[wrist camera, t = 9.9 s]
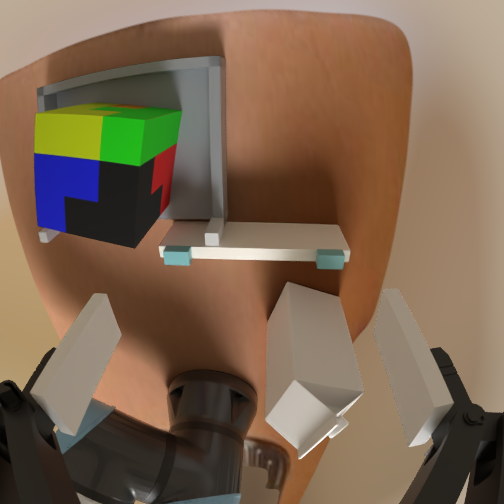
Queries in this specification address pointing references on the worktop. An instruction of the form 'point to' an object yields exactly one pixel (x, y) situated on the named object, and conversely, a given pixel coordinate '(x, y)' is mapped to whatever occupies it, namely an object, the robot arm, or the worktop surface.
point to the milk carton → (309, 367)
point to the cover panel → (257, 243)
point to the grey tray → (190, 132)
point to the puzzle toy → (104, 169)
